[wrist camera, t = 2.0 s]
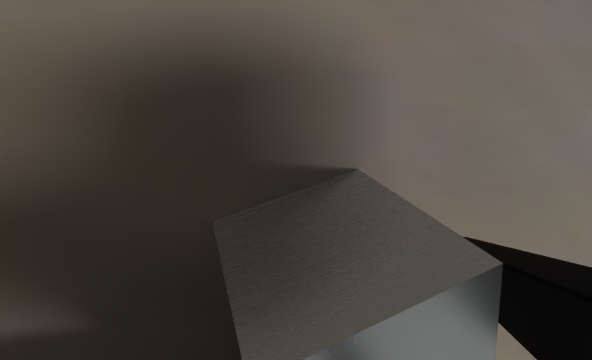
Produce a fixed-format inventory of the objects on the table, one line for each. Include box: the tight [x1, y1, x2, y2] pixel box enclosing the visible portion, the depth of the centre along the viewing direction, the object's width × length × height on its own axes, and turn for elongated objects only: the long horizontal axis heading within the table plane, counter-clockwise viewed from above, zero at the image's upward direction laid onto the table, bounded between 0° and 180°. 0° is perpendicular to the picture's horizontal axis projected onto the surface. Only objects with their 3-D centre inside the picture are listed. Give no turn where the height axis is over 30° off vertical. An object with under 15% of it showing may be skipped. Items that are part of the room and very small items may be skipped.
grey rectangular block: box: [212, 169, 503, 360], centre depth 8 cm, size 6×4×4 cm, turn 13°
